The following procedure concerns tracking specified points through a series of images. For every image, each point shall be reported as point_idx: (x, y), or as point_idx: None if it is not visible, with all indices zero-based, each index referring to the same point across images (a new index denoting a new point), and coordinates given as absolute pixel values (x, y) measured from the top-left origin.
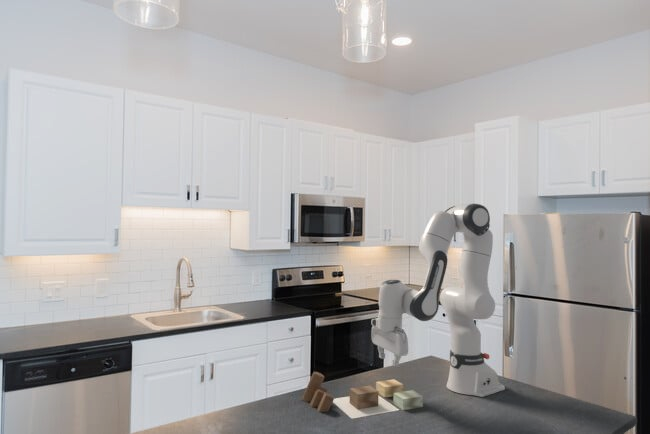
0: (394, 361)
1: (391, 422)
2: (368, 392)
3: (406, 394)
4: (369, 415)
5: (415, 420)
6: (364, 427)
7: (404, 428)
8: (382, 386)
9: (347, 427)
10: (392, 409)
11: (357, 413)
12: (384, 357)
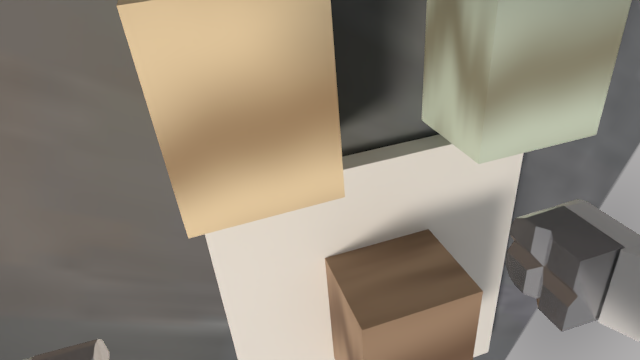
0: (612, 310)
1: (562, 191)
2: (469, 346)
3: (548, 70)
4: (499, 287)
5: (615, 62)
6: (535, 300)
7: (633, 153)
8: (306, 204)
9: (503, 352)
10: (502, 165)
11: None
12: (99, 357)
